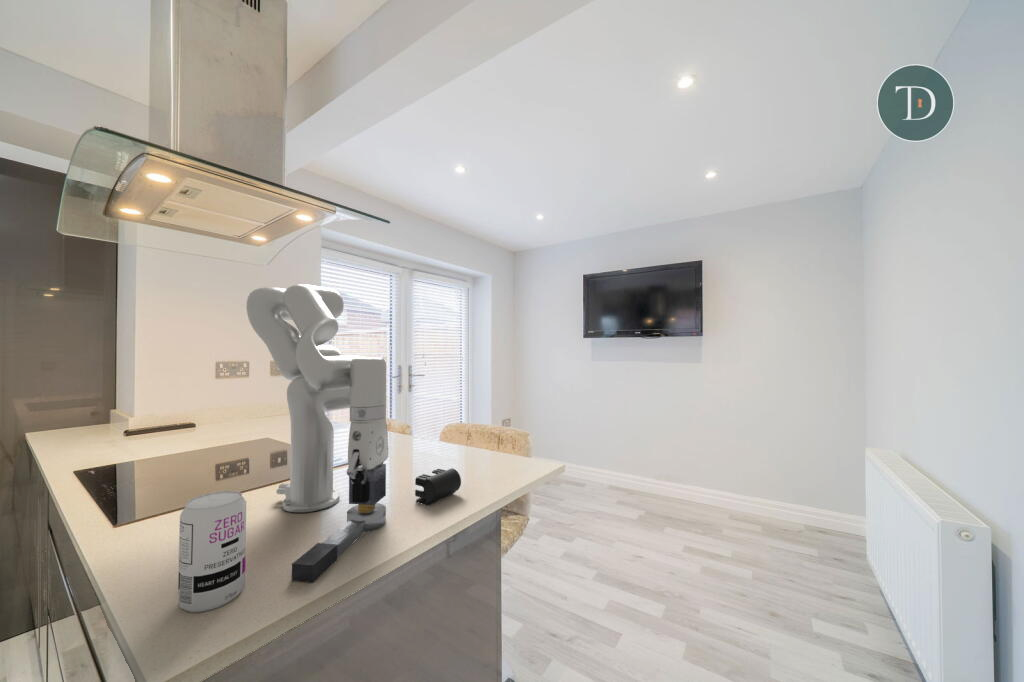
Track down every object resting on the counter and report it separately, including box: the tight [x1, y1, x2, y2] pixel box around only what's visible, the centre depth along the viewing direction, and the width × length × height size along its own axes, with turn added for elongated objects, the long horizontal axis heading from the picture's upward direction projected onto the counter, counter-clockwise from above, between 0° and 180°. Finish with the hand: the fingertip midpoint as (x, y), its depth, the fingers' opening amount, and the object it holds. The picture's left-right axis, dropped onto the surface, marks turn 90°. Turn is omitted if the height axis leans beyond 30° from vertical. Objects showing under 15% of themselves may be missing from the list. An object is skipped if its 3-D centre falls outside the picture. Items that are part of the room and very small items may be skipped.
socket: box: [348, 463, 387, 505], centre depth 86 cm, size 6×6×7 cm
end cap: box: [414, 467, 462, 506], centre depth 101 cm, size 10×7×7 cm
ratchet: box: [291, 502, 387, 584], centre depth 77 cm, size 8×26×8 cm, turn 173°
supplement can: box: [177, 490, 247, 613], centre depth 61 cm, size 8×8×15 cm
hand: (367, 495), depth 86 cm, fingers closed on socket, 5 cm apart
